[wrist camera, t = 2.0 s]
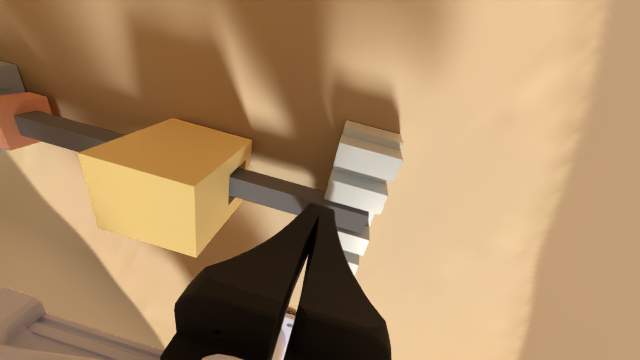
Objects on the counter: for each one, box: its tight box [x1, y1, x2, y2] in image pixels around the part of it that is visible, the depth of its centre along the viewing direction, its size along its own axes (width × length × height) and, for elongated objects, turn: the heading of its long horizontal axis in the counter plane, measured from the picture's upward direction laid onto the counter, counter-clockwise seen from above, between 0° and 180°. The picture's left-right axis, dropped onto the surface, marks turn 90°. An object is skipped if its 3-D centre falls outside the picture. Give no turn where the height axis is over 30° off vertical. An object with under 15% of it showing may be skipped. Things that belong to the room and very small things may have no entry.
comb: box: [306, 120, 403, 275], centre depth 15 cm, size 9×3×3 cm, turn 167°
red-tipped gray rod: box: [0, 92, 369, 234], centre depth 15 cm, size 23×3×3 cm, turn 77°
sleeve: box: [78, 118, 252, 258], centre depth 14 cm, size 4×5×6 cm
